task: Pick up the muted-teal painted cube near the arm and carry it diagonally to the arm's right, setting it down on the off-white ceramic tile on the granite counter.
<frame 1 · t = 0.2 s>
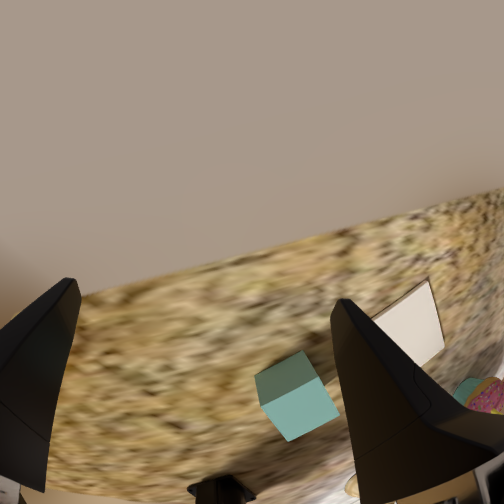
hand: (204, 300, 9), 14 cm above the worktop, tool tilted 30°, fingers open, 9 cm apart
cube: (290, 381, 26), on the worktop
tile: (403, 339, 26), on the worktop
cupcake: (463, 391, 29), on the worktop
hand bell: (371, 477, 29), on the worktop
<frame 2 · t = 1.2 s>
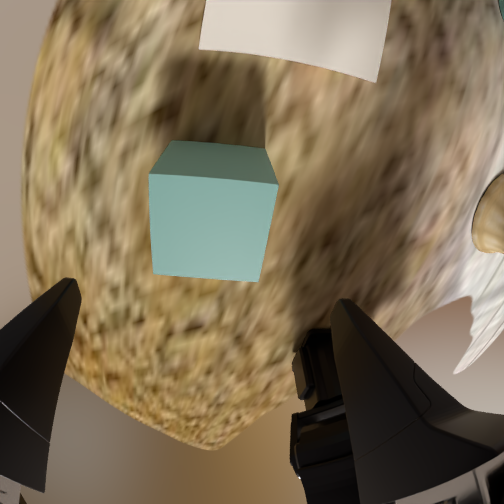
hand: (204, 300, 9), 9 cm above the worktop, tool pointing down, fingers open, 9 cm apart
cube: (213, 185, 16), on the worktop
hand bell: (500, 211, 19), on the worktop
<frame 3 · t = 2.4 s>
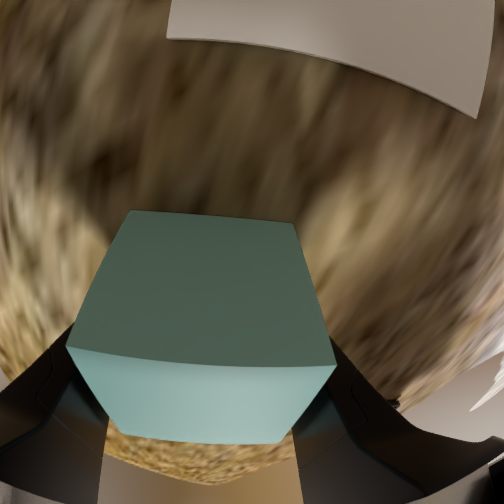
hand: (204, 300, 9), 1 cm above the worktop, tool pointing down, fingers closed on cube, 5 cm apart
cube: (206, 278, 10), on the worktop, touching gripper
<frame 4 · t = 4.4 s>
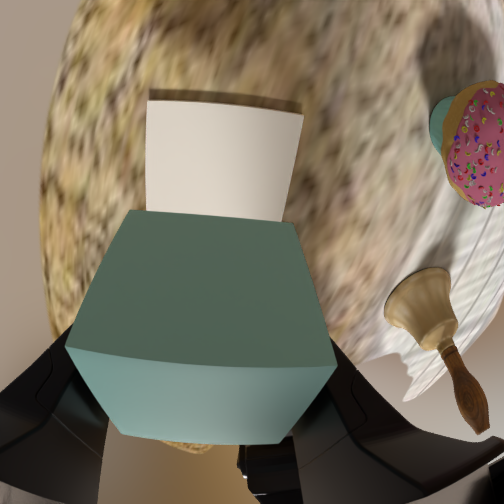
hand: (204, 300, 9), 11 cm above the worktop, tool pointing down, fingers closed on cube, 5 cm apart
cube: (206, 278, 10), point 10 cm above the worktop, touching gripper
tile: (217, 173, 18), on the worktop
cupcake: (451, 124, 16), on the worktop
hand bell: (417, 296, 27), on the worktop
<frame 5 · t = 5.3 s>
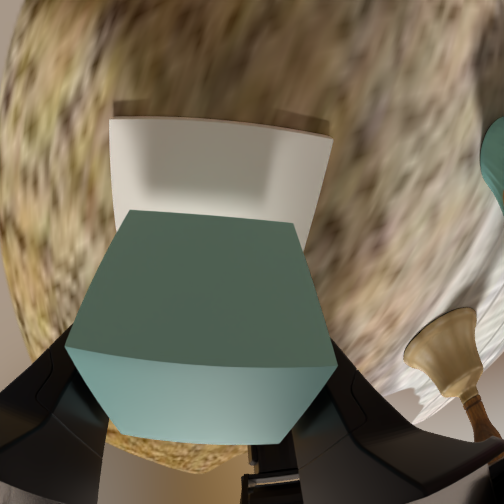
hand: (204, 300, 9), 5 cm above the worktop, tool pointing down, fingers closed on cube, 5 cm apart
cube: (206, 278, 10), point 4 cm above the worktop, touching gripper
tile: (211, 216, 13), on the worktop
cupcake: (501, 149, 12), on the worktop
hand bell: (440, 336, 22), on the worktop
when the fingers open (2 cm above the worktop, at t = 6.2 s): cube stays where it is, resting on tile.
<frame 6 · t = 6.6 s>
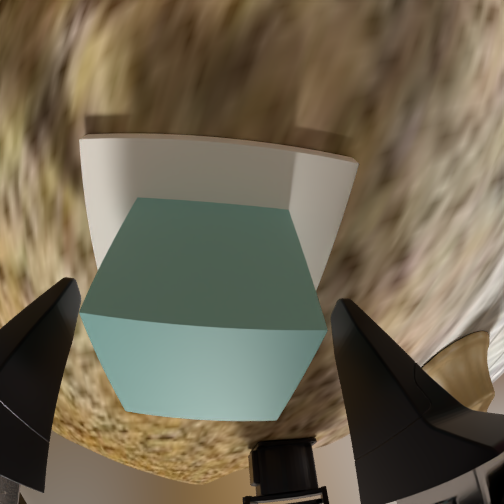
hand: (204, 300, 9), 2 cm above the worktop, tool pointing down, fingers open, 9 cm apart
cube: (207, 263, 11), point 1 cm above the worktop, touching tile
tile: (208, 253, 11), on the worktop
hand bell: (451, 359, 20), on the worktop
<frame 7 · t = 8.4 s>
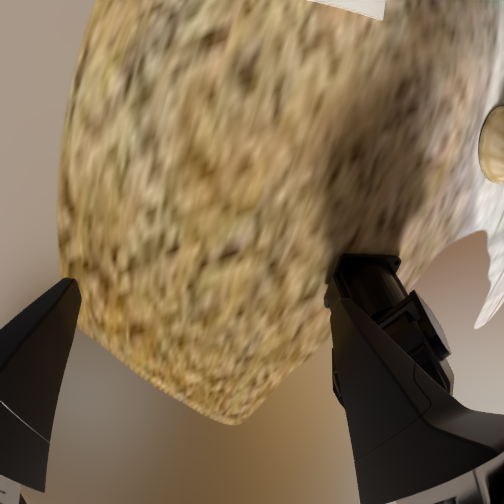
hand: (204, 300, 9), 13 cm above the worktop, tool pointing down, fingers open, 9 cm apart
hand bell: (501, 143, 19), on the worktop
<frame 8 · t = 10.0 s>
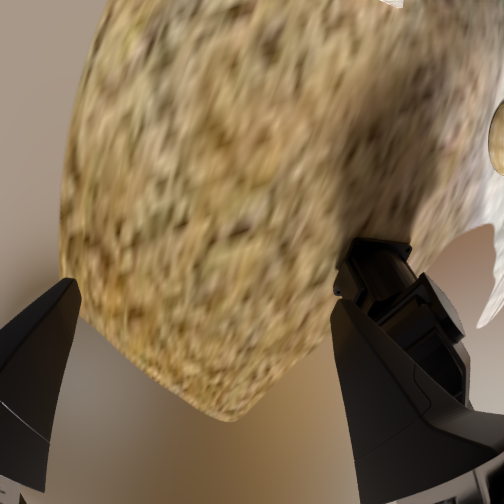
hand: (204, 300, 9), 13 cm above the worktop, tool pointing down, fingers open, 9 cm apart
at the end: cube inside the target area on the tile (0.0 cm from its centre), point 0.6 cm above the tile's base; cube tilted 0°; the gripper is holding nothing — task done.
